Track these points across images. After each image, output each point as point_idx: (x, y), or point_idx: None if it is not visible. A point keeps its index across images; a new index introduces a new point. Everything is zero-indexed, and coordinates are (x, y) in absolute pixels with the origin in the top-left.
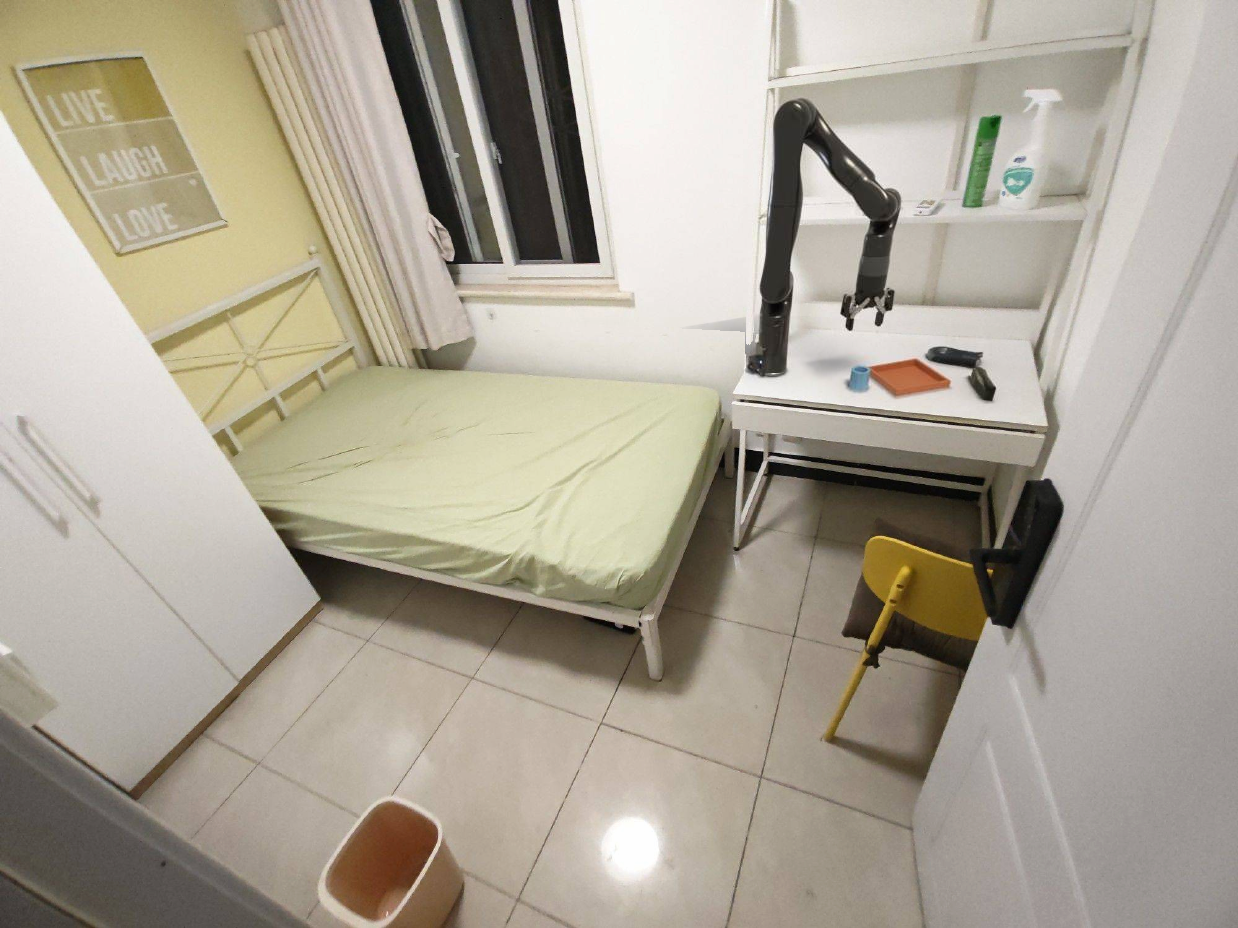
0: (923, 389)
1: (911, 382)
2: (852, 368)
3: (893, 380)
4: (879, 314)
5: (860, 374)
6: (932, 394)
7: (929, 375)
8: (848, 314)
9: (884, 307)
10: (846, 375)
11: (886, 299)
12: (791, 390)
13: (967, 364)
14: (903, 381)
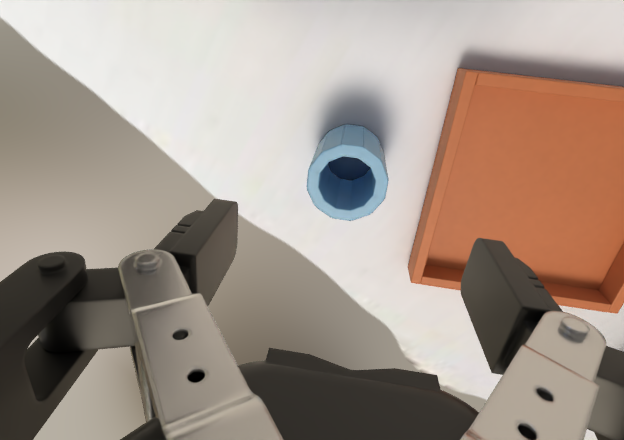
0: None
1: (533, 222)
2: (320, 158)
3: (493, 181)
4: (499, 350)
5: (323, 210)
6: None
7: None
8: (90, 358)
9: (598, 411)
10: (378, 40)
11: None
12: (114, 59)
13: None
14: (517, 203)
